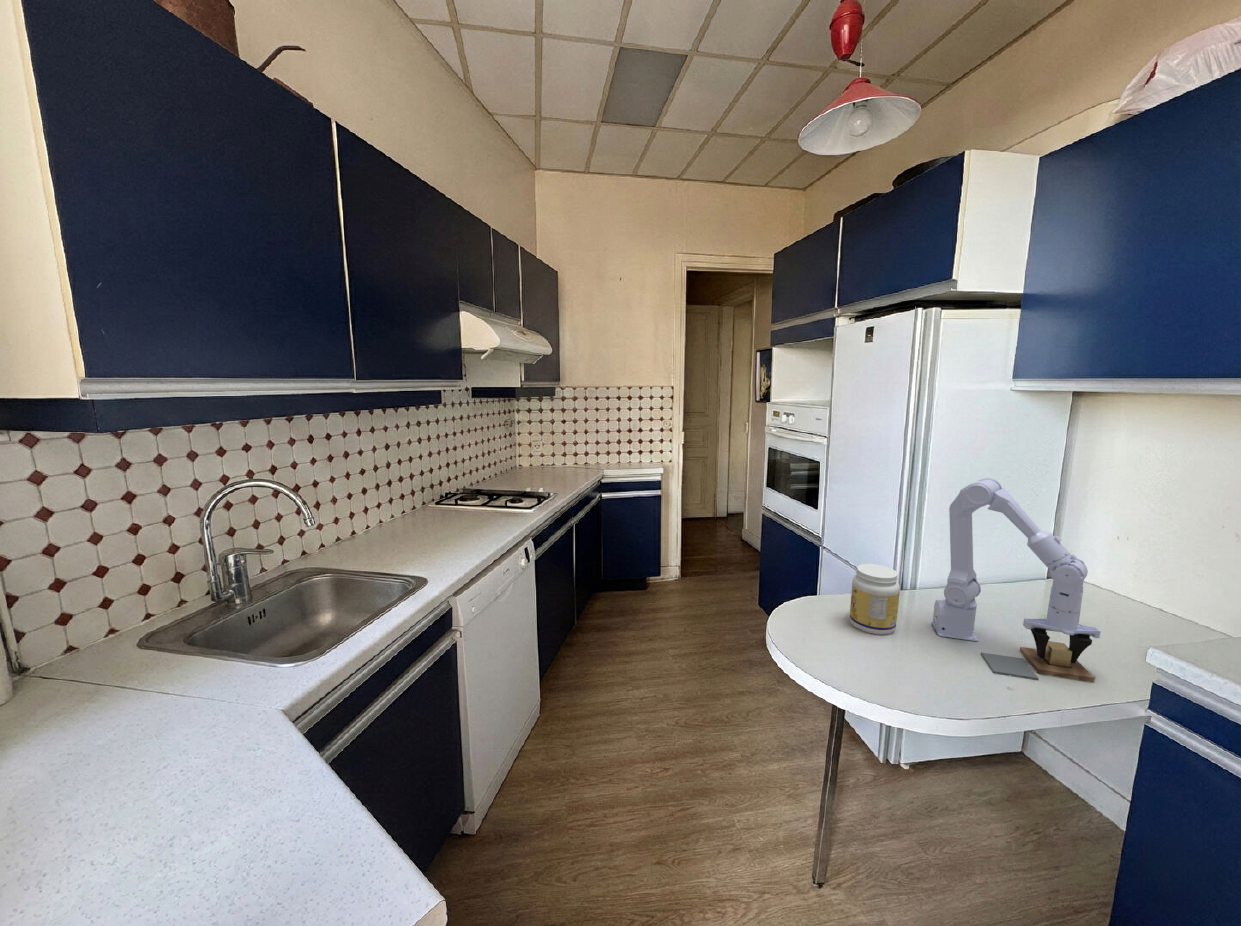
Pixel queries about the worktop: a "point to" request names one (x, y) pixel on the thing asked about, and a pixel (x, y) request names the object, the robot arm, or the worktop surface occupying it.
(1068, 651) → the brass plug
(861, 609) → the supplement tub
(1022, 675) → the charcoal mat
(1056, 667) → the walnut square frame
